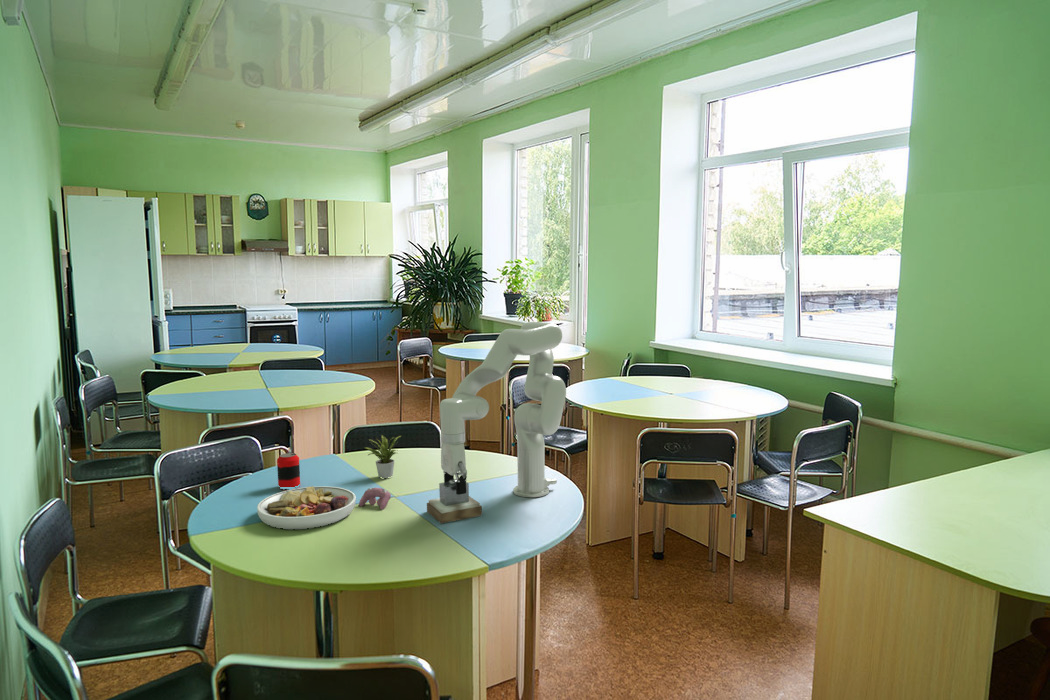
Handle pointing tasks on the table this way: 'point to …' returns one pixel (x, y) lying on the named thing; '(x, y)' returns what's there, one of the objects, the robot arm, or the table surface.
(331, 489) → the bowl
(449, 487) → the block
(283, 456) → the soda can
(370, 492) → the video game controller
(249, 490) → the table surface
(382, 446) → the house plant
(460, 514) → the stand
